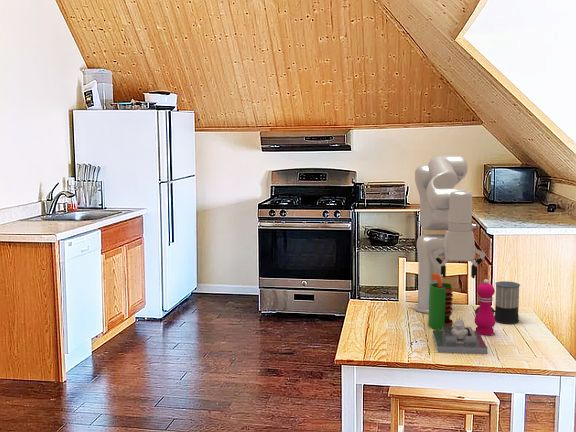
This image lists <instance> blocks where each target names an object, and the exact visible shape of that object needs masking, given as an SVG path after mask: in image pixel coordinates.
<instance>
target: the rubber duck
mask: <svg viewBox="0 0 576 432" xmlns="http://www.w3.org/2000/svg"><path fill="white" fill-rule="evenodd" d="M454 327H455V328H453V329H452V330H451V334H452V336H457V339H459V340H461V339H464V338H465V336H467V335H468V331H467V330H466V329H464V327H465V322H464V320H463V318H461V317H460V316H459V317H458V318H456V319H455V321H454Z"/></svg>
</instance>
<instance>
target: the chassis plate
mask: <svg viewBox="0 0 576 432" xmlns="http://www.w3.org/2000/svg"><path fill="white" fill-rule="evenodd" d="M453 328H455V326H453V325H452V326H442V330H437V329H432V339H433V343H434V345H435V348H436V352H437V353H443V354H444V353H446V354H448V353H449V354H451V353H452V354H476V355H477V354H478V355H488V346H487V345H486V343H485V341H484V339H483V338H482V335H480V334H479V332H476V331H474V330H473V328H472V327H471V326H464V329H466V330H467V331H468V335H467V336H465V338H464V339H461V340H459V339H457V336H452V334H451V330H452V329H453Z"/></svg>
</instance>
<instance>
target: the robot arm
mask: <svg viewBox="0 0 576 432" xmlns="http://www.w3.org/2000/svg"><path fill="white" fill-rule="evenodd" d="M468 167H469V165H468V162H467V160H466V158H465V157H463V156H462V155H437V156H433V157H432V158H430V159H429V161H428V163H427V164H423V165H419V166H417V167H416V169H415V170H414V181H415V182H414V183H415V186H416V189H417V191H418V195H419V223H420V227H421V228H422V230H424V231H431V232H432V231H434V232H435V231H437V232H439V231H445V233H425V234H422V235H420V236H418V238H417V239H416V250H417V257H418V258H417V259H418V264H417V265H418V273H417V274H418V276H417V277H418V278H417V280H418V283H417V284H418V285H417V304H414V306H413V309H414V311H416V312H419V313H422V314H429V291H430V284H432V283H438V281H437V280H432V274H435V273H437V274H439V275H440V276H441V280H442V281H443V278H445V279H446V276H447V275H446V274H447V266H446V264H447V263H448V262H449V261H450V262H471V263H472V264H471V266H470V267H471V270H470V273H471V275H470V276H471V278H472V279H475V278H476V277H475V276H477V273H478V271H477V269H478V268H477V267H478V266H479V265H480V264H481V263H482V262H483V260H484V259H485V257H486V256H487V255H486V253H485V252H484V251H482V250H480V249H478V248H476V247H475V246H476V245H475V243H476V242H475V235H474V234H475V233H474V231H473V229H477V224H476V223H475V224H474V223H472V221H473V219H472V218H473V213H472V212H473V194H472V192H471V191H469V190H468V189H467V188H462V187H461V188H455V187H456V186H457V185H459V183H460V182H462V180H463V179H464V178H465V177H466V175H467V174H468ZM476 254H477V255H479V257H478V258H477V259H475V258H476ZM441 258H442V259H441Z"/></svg>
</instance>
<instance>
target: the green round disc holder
mask: <svg viewBox="0 0 576 432" xmlns="http://www.w3.org/2000/svg"><path fill="white" fill-rule="evenodd" d="M432 280H437V281H438V283H432V284H430V291H429V313H428V322H427V326H428V328H431V329H432V330H442V326H452V327H453V323H454V322H453V320H452V319H451V316H452V315H453V312H452V311H453V307H452V306H453V305H454V304H453V300H454V298H452V297H454V294H453V292H454V289H453V288H452V283H450V282H443V279H442V280H441V276H440V275H439V274H437V273H435V274H432Z"/></svg>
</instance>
